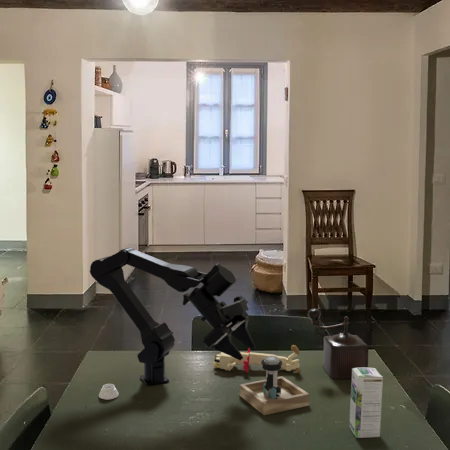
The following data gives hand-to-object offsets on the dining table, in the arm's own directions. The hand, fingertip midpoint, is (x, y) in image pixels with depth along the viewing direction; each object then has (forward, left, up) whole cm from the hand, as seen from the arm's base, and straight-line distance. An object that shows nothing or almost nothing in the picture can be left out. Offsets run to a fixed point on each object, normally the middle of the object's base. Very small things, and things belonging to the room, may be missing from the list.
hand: (248, 353), depth 160 cm
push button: (+5, +5, -11) cm, 13 cm away
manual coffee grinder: (-4, +31, -12) cm, 33 cm away
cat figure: (-16, +11, -12) cm, 23 cm away
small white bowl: (-16, -33, -12) cm, 38 cm away
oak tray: (+5, +5, -12) cm, 14 cm away
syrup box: (+29, +15, -12) cm, 35 cm away
